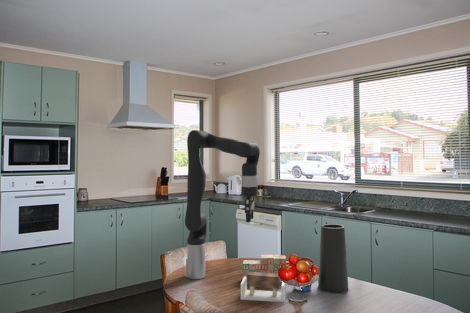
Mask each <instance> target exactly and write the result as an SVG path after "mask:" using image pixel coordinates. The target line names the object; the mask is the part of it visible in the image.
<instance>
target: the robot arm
mask: <svg viewBox="0 0 470 313" xmlns="http://www.w3.org/2000/svg"><path fill="white" fill-rule="evenodd" d="M186 143H187V144H186V145H187V189H186V190H187V191H186V192H187V193H186V197H187V198H186V210H185V216H184V225H185V227H186V229H187V230H188V231H189V234H188V237H187V238H186V240H187V246H186V247H187V248H186V250H187V252H186V256H187V257H186V260H185V271H186V272H185V275H186V276H185V277H186V278H187V279H191V280H200V279H203V278H206V239H207V226H208V225H207V224H208V222H207V217H206V215H205V213H204V212H202V211H201V205H202V200H203V197H204V194H205V190H206V185H207V184H206V180H207V178H206V175H207V174H206V170H205V168H204V166H203V164H202V162H201V153H200V152H201V150H200V149H202V150H203V149H216V150H219V151H220V152H223V153H225V154H232V155H235V156H238V157H240V158H245V159H246V161H245V162H244V163H242V165H241V196H242V197H246V198H245V199H244V213H245V222H246V223H251V221H252V220H253V219H254V210H255V197H257V196H258V193H259V192H258V190H259V188H258V187H259V186H258V184H259V183H258V182H259V181H258V163H259V159H260V153H261V152H260V151H261V150H260V147H259V145H258V144H257V143H256V142H245V141H240V140H238V139H233V138H227V137H221V136H217V135H213V134H212V133H209V132H207V131H205V130H197V129H193V130H191V131H189V133H188V134H187V139H186Z"/></svg>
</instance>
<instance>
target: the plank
mask: <svg viewBox="0 0 470 313" xmlns="http://www.w3.org/2000/svg"><path fill="white" fill-rule="evenodd" d="M250 286H253V287H255V288H265V289H273V288H275V289H277V290H278V289H279V288H280V287H281V283H280V279H279V276H278V274H273V273H261V272H248V274H247V287H250Z"/></svg>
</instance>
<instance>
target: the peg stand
mask: <svg viewBox="0 0 470 313" xmlns="http://www.w3.org/2000/svg"><path fill="white" fill-rule="evenodd" d="M241 280H242V281H241V283H240V298H239V299H240V300H241V301H260V302H272V303H273V302H275V303H285V302H286V295H287V294H286V293H287V291H286V288H287V287H286V283H284V282H283V281H282V283H281V285H280V287H281V291H278V289H275V288H272V290H259V289H258V290H257V289H256V287H253V286H249V289H248V286H247V277H244V278H243V277H242V279H241Z"/></svg>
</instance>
